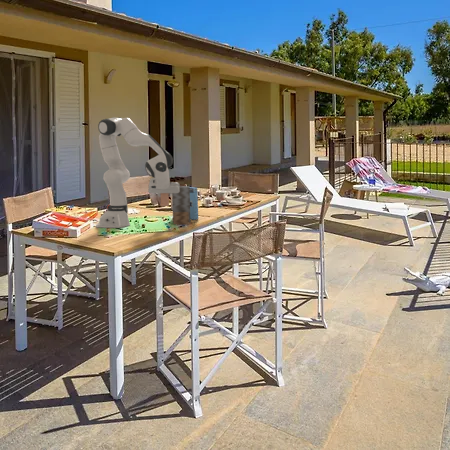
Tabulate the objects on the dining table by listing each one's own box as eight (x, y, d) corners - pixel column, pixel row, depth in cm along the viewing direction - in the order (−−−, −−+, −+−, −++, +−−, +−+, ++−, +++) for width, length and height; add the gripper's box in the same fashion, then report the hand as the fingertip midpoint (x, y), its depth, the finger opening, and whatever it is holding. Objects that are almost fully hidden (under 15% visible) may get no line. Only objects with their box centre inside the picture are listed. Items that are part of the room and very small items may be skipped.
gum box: (198, 218, 364) (197, 187, 360) (194, 220, 360) (193, 188, 356) (177, 216, 375) (176, 185, 371) (173, 217, 371) (172, 186, 367)
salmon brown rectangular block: (160, 206, 333) (160, 188, 331) (161, 205, 337) (161, 187, 335) (168, 206, 334) (168, 188, 331) (168, 205, 337) (168, 187, 335)
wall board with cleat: (172, 224, 343) (171, 188, 338) (173, 222, 352) (172, 186, 347) (189, 224, 343) (189, 188, 338) (190, 222, 352) (189, 186, 347)
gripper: (179, 178, 325) (180, 191, 337) (147, 178, 325) (149, 191, 336) (179, 186, 322) (180, 199, 333) (147, 186, 321) (149, 199, 333)
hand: (164, 195), depth 335 cm, fingers closed on salmon brown rectangular block, 5 cm apart
